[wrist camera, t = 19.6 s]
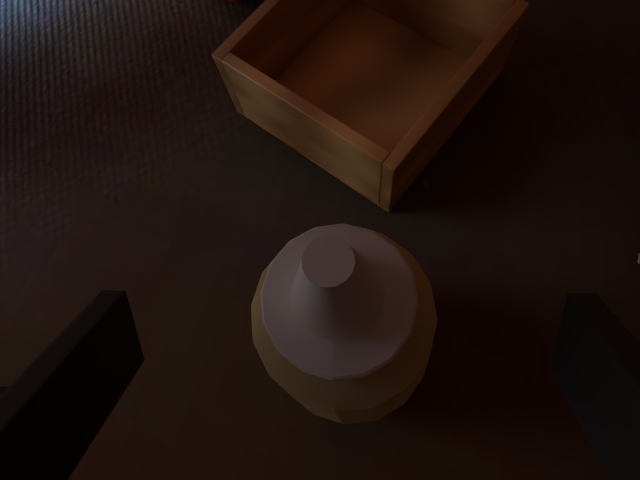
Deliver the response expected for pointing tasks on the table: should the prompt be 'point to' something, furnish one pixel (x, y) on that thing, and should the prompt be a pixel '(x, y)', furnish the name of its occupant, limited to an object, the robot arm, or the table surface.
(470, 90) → the open wooden box
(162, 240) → the table surface
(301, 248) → the squeeze bottle
